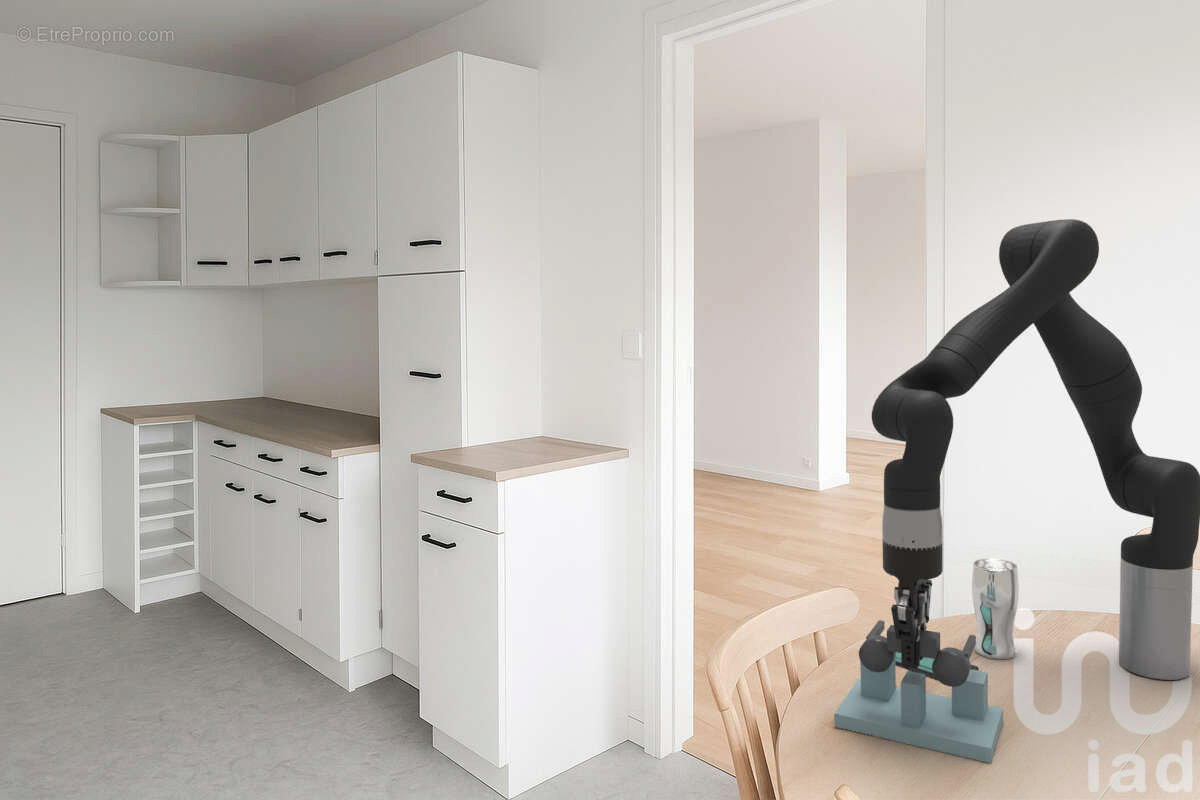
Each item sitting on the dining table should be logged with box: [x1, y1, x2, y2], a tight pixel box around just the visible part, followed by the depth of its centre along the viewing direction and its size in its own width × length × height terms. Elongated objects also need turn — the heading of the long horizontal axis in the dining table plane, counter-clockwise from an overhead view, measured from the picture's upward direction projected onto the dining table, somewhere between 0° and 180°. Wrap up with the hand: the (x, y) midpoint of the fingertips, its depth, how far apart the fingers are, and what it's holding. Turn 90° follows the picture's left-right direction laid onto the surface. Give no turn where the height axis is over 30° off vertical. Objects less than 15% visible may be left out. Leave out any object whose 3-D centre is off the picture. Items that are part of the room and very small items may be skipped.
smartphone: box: [895, 652, 980, 681], centre depth 134 cm, size 7×1×15 cm
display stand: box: [833, 659, 1004, 764], centre depth 115 cm, size 12×20×8 cm, turn 57°
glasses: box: [858, 619, 977, 688], centre depth 114 cm, size 9×14×6 cm
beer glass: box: [971, 558, 1020, 660], centre depth 136 cm, size 7×7×15 cm
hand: (913, 661), depth 112 cm, fingers closed on glasses, 2 cm apart
